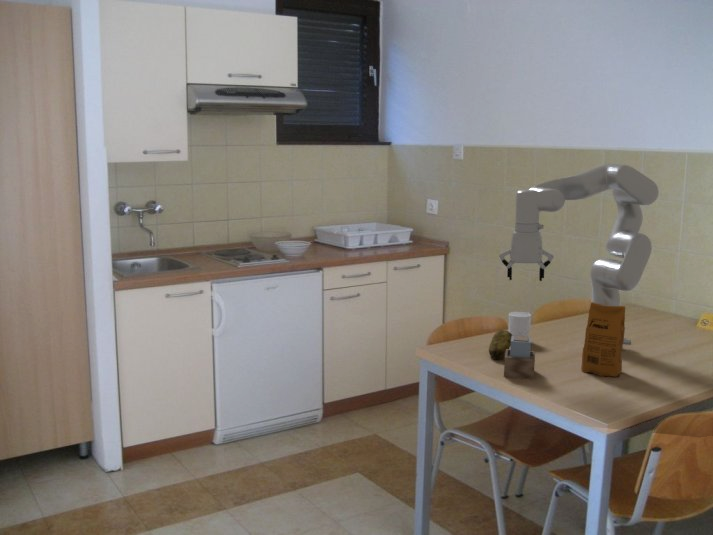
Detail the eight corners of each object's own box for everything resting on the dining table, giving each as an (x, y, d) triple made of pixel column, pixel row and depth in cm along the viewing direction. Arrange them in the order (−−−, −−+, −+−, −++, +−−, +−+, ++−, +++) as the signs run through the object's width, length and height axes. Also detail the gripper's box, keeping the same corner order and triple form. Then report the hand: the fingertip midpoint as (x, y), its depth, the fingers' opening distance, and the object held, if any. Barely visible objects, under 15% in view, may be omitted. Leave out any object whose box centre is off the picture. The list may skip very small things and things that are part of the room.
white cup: (528, 338, 273) (529, 312, 271) (530, 344, 265) (532, 317, 264) (506, 337, 274) (507, 311, 272) (508, 343, 266) (509, 316, 264)
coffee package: (586, 364, 244) (591, 298, 240) (625, 371, 237) (630, 303, 233) (576, 371, 236) (581, 303, 232) (616, 379, 229) (621, 309, 225)
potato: (478, 357, 249) (479, 334, 248) (498, 349, 259) (499, 326, 258) (500, 362, 244) (501, 338, 243) (519, 354, 254) (520, 331, 252)
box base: (533, 370, 236) (534, 351, 235) (533, 379, 228) (534, 359, 227) (504, 367, 238) (505, 349, 237) (503, 376, 230) (504, 357, 229)
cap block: (529, 356, 234) (531, 336, 233) (529, 361, 229) (530, 341, 227) (510, 354, 236) (511, 335, 235) (509, 359, 230) (510, 340, 229)
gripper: (553, 226, 243) (552, 278, 246) (499, 226, 246) (498, 276, 249) (555, 230, 236) (553, 283, 239) (499, 229, 239) (498, 281, 242)
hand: (525, 279), depth 244 cm, fingers open, 9 cm apart
